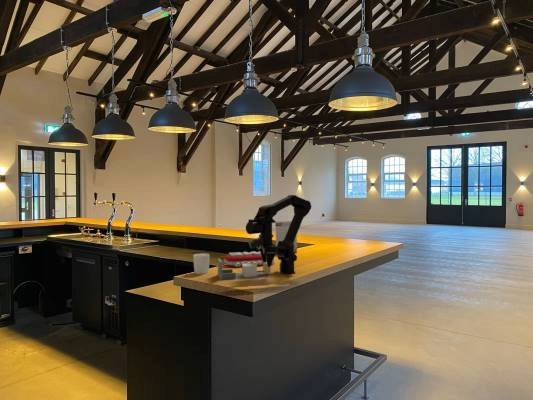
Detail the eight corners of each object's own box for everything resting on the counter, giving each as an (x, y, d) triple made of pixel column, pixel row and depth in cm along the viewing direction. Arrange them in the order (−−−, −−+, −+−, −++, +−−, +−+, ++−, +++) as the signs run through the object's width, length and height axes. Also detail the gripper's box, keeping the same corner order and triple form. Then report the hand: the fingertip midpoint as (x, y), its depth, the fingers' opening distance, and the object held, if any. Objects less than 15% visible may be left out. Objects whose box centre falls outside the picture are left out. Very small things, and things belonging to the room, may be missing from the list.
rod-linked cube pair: (268, 272, 194) (268, 261, 194) (271, 275, 188) (271, 263, 188) (242, 274, 191) (241, 263, 191) (244, 277, 185) (244, 265, 185)
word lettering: (265, 248, 242) (280, 255, 213) (265, 259, 242) (280, 268, 213) (220, 250, 234) (230, 258, 206) (221, 261, 235) (230, 271, 206)
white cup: (210, 272, 202) (210, 253, 202) (208, 276, 194) (208, 255, 194) (194, 273, 202) (194, 253, 201) (192, 276, 194) (192, 256, 193)
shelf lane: (265, 273, 198) (265, 255, 198) (272, 279, 185) (272, 259, 184) (217, 276, 193) (217, 257, 192) (221, 283, 179) (220, 262, 179)
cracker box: (297, 251, 268) (296, 220, 268) (296, 252, 262) (296, 221, 262) (276, 251, 270) (275, 220, 269) (275, 252, 264) (275, 221, 263)
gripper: (246, 231, 198) (246, 262, 198) (253, 235, 180) (254, 269, 180) (267, 230, 200) (268, 261, 201) (277, 234, 182) (277, 268, 183)
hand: (266, 265), depth 191 cm, fingers open, 9 cm apart
